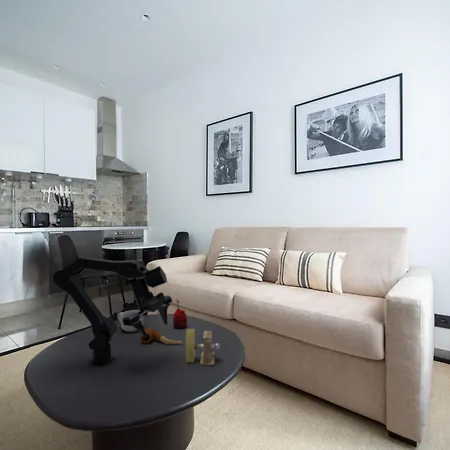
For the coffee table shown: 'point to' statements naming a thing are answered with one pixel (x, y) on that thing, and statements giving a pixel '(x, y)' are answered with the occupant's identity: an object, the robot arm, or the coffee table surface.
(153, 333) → the smoking pipe
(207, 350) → the eye post
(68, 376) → the coffee table surface
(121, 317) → the teacup
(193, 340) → the olive block with rod
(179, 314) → the red clay folk toy
